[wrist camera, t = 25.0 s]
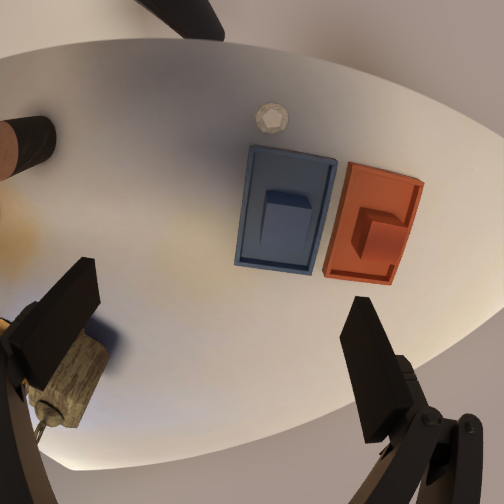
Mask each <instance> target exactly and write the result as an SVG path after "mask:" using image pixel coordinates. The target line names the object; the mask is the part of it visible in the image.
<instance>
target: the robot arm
mask: <svg viewBox="0 0 504 504" xmlns="http://www.w3.org/2000/svg"><path fill="white" fill-rule="evenodd" d="M100 303H101V302H100V296H99V290H98V283H97V276H96V268H95V260H94V259H92V258H87V257H81V258H80V259H79V260H78V261H77V262H76V263H75V264H74V265H73V266H72V267H71V268H70V269H69V270H68V271H67V272H66V274H65V275H64V276H63V277H62V278H61V279H60V280H59V281H58V282H57V283H56V284H55V285H54V286H53V287H52V288H51V289H50V290H49V291H48V293H47V294H46V295H45V296H44V297H43V298H42V299H41V300H40V301H39V302H36V301H34V302H33V303H31V304H29V305H28V306H26V307H25V308H24V309H23V311H22V312H21V313H20V315H18V316H17V317H16V318H15V320H14V321H13V322H12V323H11V324H10V325H9V327H8V328H7V329H6V330H5V331H4V332H3V334H2V335H1V336H0V504H58V503H57V500H56V498H55V495H54V493H53V490H52V488H51V485H50V482H49V480H48V477H47V474H46V471H45V468H44V465H43V462H42V459H41V456H40V453H39V449H38V446H37V442H36V439H35V435H34V431H33V427H32V423H31V419H30V414H29V410H28V405H27V400H26V395H25V389H24V386H23V384H22V382H23V380H24V379H25V378H26V380H27V381H28V383H29V385H30V386H31V387H33V388H35V389H38V390H40V391H42V392H43V391H44V390H45V388H46V386H47V385H48V383H49V381H50V380H51V378H52V376H53V375H54V373H55V371H56V370H57V368H58V366H59V365H60V363H61V362H62V360H63V358H64V357H65V355H66V354H67V352H68V351H69V349H70V347H71V346H72V344H73V343H74V341H75V340H76V338H77V337H78V335H79V334H80V332H81V331H82V329H83V328H84V326H85V325H86V323H87V322H88V320H89V319H90V317H91V316H92V314H93V313H94V312H95V310H96V309H97V307H98V306H99V304H100ZM339 338H340V342H341V345H342V349H343V353H344V357H345V360H346V364H347V368H348V372H349V376H350V380H351V384H352V388H353V392H354V396H355V400H356V404H357V409H358V413H359V418H360V422H361V427H362V431H363V436H364V440H365V443H379V442H382V441H383V440H384V439H385V438H386V437H387V436H388V435H389V439H390V443H389V444H388V445H387V446H386V447H385V448H384V449H383V450H382V451H381V452H380V453H379V455H381V457H380V458H379V460H378V461H377V463H376V464H375V466H374V467H373V469H372V471H371V472H370V474H369V475H368V477H367V478H366V480H365V481H364V482H363V484H362V485H361V487H360V488H359V490H358V491H357V492H356V494H355V495H354V496H353V498H352V499H351V501H350V502H349V503H348V504H409V502H410V500H411V498H412V497H413V495H414V493H415V491H416V489H417V487H418V485H419V483H420V481H421V483H420V488H419V492H418V497H417V501H416V504H480V497H481V486H482V470H483V427H482V423H481V421H480V420H479V419H478V418H477V417H476V416H475V415H473V414H464V415H462V417H461V418H460V419H459V420H458V421H457V420H451V419H446V418H443V416H442V415H441V413H440V412H439V411H438V410H437V409H435V408H433V407H430V406H429V405H428V403H427V401H426V398H425V396H424V393H423V391H422V389H421V386H420V384H419V381H417V377H416V375H415V374H414V370H413V368H412V365H411V363H410V362H409V361H408V360H407V359H406V358H405V357H404V356H403V355H395V354H394V351H393V349H392V347H391V344H390V342H389V340H388V337H387V335H386V333H385V331H384V328H383V326H382V324H381V322H380V320H379V317H378V315H377V313H376V311H375V309H374V307H373V304H372V302H371V300H370V298H369V297H360V296H355V299H354V301H353V304H352V307H351V309H350V312H349V315H348V317H347V320H346V322H345V325H344V327H343V330H342V333H341V335H340V337H339Z"/></svg>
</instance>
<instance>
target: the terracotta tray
mask: <svg viewBox="0 0 504 504" xmlns="http://www.w3.org/2000/svg"><path fill="white" fill-rule="evenodd" d="M423 187H424V182H422V181H420V180H419V179H416V178H412V177H409V176H405V175H401V174H398V173H394V172H390V171H386V170H382V169H378V168H374V167H370V166H366V165H361V164H357V163H353V162H348V167H347V171H346V176H345V180H344V185H343V189H342V194H341V198H340V202H339V207H338V211H337V215H336V219H335V223H334V227H333V231H332V235H331V239H330V243H329V247H328V251H327V254H326V258H325V262H324V265H323V269H322V271H323V274H324V277H326V278H334V279H342V280H350V281H358V282H366V283H374V284H382V285H391V284H392V282H393V279H394V276H395V274H396V271H397V269H398V266H399V263H400V260H401V258H402V255H403V252H404V249H405V246H406V243H407V240H408V237H409V234H410V231H411V228H412V225H413V222H414V218H415V215H416V212H417V208H418V205H419V201H420V198H421V194H422V191H423ZM360 207H362V208H367V209H372V210H377V211H382V212H387V213H392V214H394V215H395V216H396V217H397V218H398V219H400V220H401V221H402V222H403V223H404V224H405V225H406V226H407V227H408V228H409V229H408V232H407V235H406V238H405V241H404V244H403V247H402V250H401V253H400V256H399V258H398V261H397V264H396V265H392V264H386V263H379V262H372V261H365V260H360V258H359V256H358V254H357V253H356V251H355V249H354V247H353V246H352V244H351V239H352V235H353V232H354V228H355V224H356V221H357V217H358V213H359V209H360Z"/></svg>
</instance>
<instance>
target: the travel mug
mask: <svg viewBox="0 0 504 504" xmlns="http://www.w3.org/2000/svg"><path fill="white" fill-rule="evenodd" d="M55 144H56V133H55V129H54V126H53V124H52V122H51V121H50V120H49V119H48V118H46V117H43V116H33V117H25V118H17V119H10V120H4V121H0V181H3V180H5V179H7V178H9V177H11V176H13V175H15V174H18V173H20V172H22V171H24V170H26V169H28V168H31V167H33V166H35V165H37V164H40V163H42V162H44V161H46V160H47V159H48V158H49V157H50V156H51V154H52V153H53V151H54V148H55Z"/></svg>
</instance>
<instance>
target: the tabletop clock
mask: <svg viewBox="0 0 504 504" xmlns="http://www.w3.org/2000/svg"><path fill="white" fill-rule="evenodd" d="M109 358H110V355H109V354H108V352H107V350H106V349H105V347H104V345H102V344H101V343H99V342H97V341H96V340H94V339H92V338H91V337H89V336H88V335H86V334H85V326H84V328H83V329H82V331H81V332H80V334H79V335H78V337H77V338H76V340H75V341H74V343H73V344H72V346H71V347H70V349H69V351H68V352H67V354H66V355H65V357H64V358H63V360H62V362H61V363H60V365H59V366H58V368H57V370H56V371H55V373H54V375H53V376H52V378H51V380H50V381H49V383H48V385H47V386H46V388H45V390H44V391H43V392H42V391H40V390H38V389H35V388H33V387H31V386H30V385H29V404H30V405H31V406H33V407H34V408H35V414H36V416H37V418H38V419H39V420H40V423H39V424H38V426H37V428H36V430H35V432H34V435H35V439H37V440H36V442H37V445H38V443H39V441H40V438H41V436H42V434H43V431H44V429H45V427H46V425H47V426H49V427H56V426H58V425H60V424H61V425H63V426H64V427H68V428H77V427H78V425H79V423H80V420H81V418H82V416H83V414H84V412H85V409H86V407H87V405H88V403H89V401H90V399H91V397H92V394H93V392H94V390H95V388H96V386H97V384H98V382H99V379H100V377H101V375H102V373H103V371H104V369H105V366H106V364H107V362H108V360H109ZM39 431H40V432H39ZM38 432H39V436H38V438H37V435H38Z"/></svg>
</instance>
